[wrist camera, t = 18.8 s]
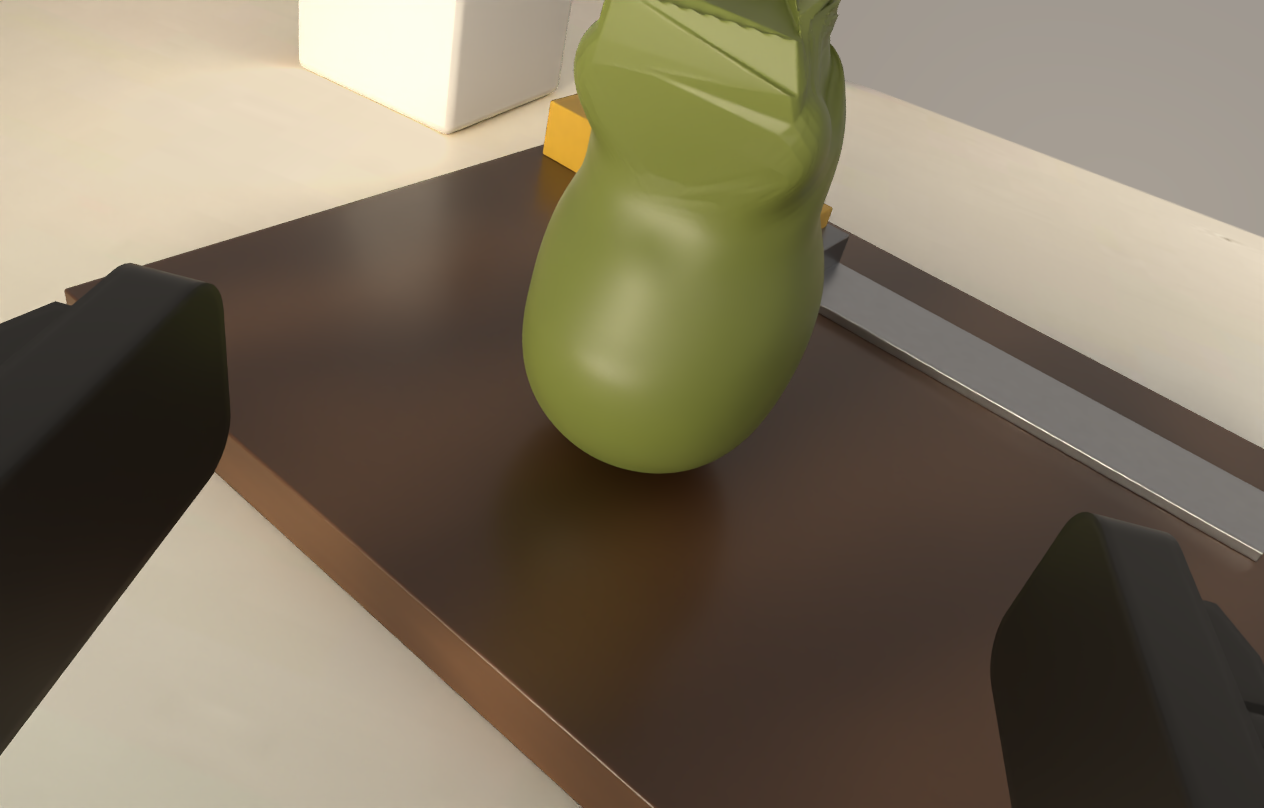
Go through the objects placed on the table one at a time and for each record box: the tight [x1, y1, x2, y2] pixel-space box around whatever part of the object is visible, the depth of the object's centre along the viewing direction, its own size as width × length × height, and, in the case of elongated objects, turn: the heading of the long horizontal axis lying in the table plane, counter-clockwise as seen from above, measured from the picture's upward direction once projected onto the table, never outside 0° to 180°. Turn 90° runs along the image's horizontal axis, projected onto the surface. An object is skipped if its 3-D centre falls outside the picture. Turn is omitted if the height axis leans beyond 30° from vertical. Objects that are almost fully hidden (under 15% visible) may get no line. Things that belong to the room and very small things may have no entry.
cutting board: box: [65, 145, 1264, 808], centre depth 24 cm, size 24×20×2 cm
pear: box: [522, 0, 846, 474], centre depth 18 cm, size 6×5×10 cm
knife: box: [543, 94, 1264, 562], centre depth 27 cm, size 22×3×2 cm, turn 51°
